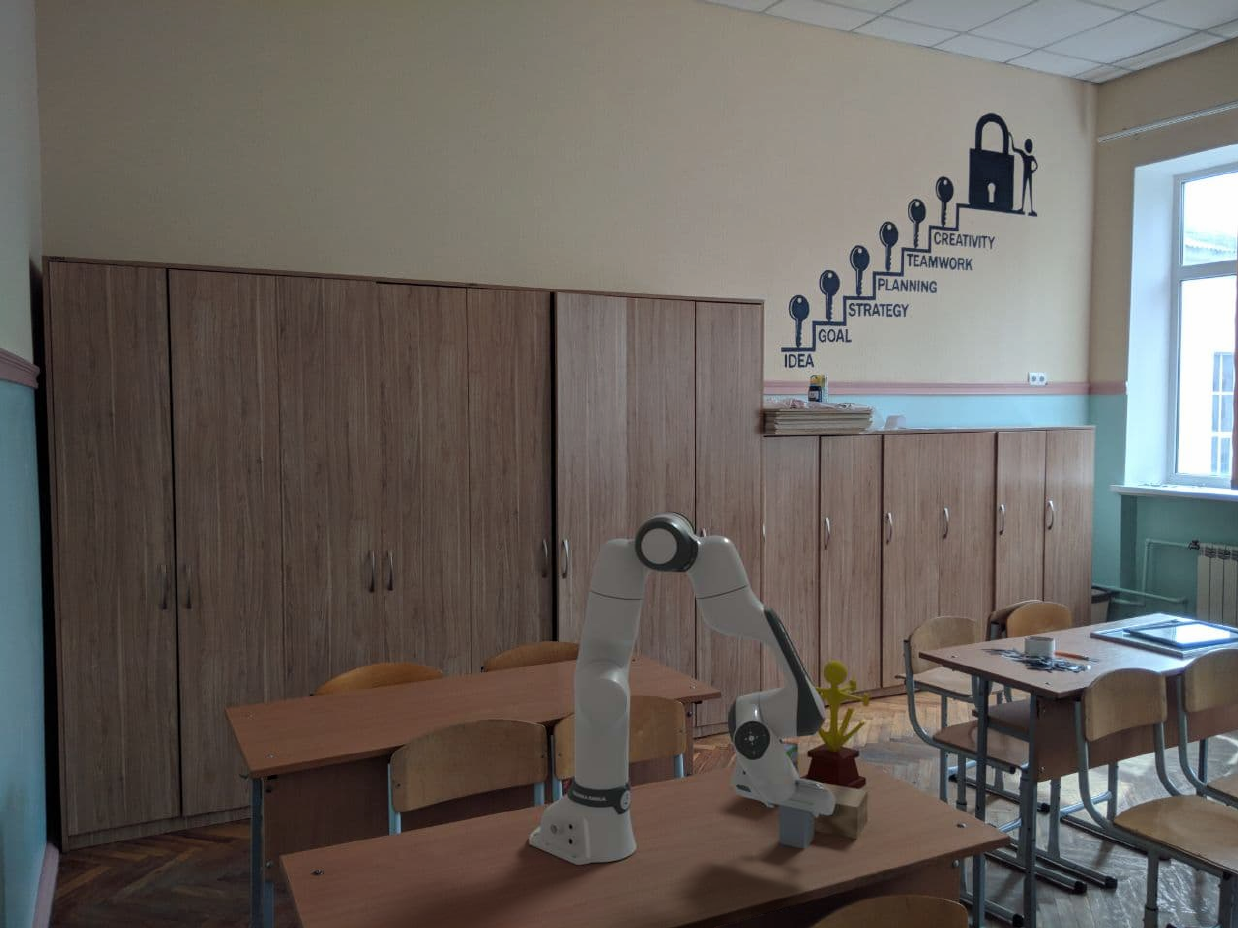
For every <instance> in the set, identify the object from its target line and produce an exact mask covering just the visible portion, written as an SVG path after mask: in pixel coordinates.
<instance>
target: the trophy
mask: <svg viewBox="0 0 1238 928" xmlns="http://www.w3.org/2000/svg"><path fill="white" fill-rule="evenodd" d="M823 677H824V679H825V681H826V682H827V683H829V684H830V687H828V688H825V687H820V686H814V687H815V689H816V690H817V692H818V693H821V695H820V697H821V699H822V700H826V701H827V702H828V705H829V706H828V707H829V713H830V715H829V716H830V717H829V718H830V719H829V721H830V722H829V730H828V731H827V730H825V729H824V728H823V727H822V726H821V728H820V729H819V730H818V731H817V734H819V736H820V738H821V739H822V741H823V744H821V745H819V746H816V747H813V748H812V749H810V750H807V751H806V753H807V755H806V756H807V757H808V758H811V760H810V764H809V767H808V770H807V774H806V775H803V776H801V777H800V778H801V779H806V780H811V781H816V782H819V783H825V784H831V785H837V786H843V787H849V788H855V789H860V788H862V787H864V786H866V785H867V777H865V776H862V775H859V770H858V767H857V763H856V758H858V757H860V751H859V750H856V749H852V748H848V747H846V746H844V745H846V743H847V742H848V741H849V740H850V739H851V738H852V737H853V736H854V735H855V734H856V733H857V732H858V731H859V730H860V729H861V728H862V727H863V726H864V725H865V724H866V723H867V722H866V721H861V722H859V723H858V724H857V725H856V726H855V727H854V728H852V730H851V731H849V732H848V733H846V731H847V728H848V725H849V723H850V720H851V717H852V716H853V713H854V711H855V708H854V707H848V708H847V710H846V713H845V716H844V718H843V720H842V722H841V724H840V727H839V726H838V725H839V724H838V723H839V721H838V719H839V715H838V714H839V710H840V707H841V705H842V703H843V702H844V701H845V700H851V699H852V700H857V701H861V702H862V706H864V707H869V705H870V694H869V693H863V695H862V696H857V695H853V694H850V693H848V692H846V691H848V690H849V691H850V692H856V691H857V680H856V679H851V680H849V684H848V685H846V686H843V687H840V688H839V685H842V684H844V682H845V681H846V680H847V678H848V669H847V667H846V665H845V664H844V663H843V662H841V661H839V660H831V661H829V662H827V664H826V665H825V666H824V669H823ZM838 727H839V728H838Z"/></svg>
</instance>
